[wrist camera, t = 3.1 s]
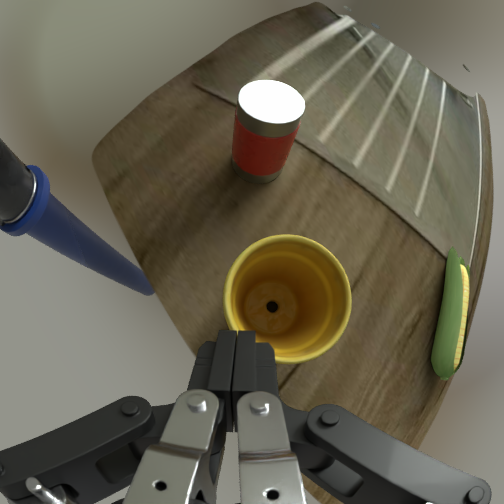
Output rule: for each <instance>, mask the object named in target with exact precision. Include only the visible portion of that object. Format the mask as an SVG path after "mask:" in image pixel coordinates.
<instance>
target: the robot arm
mask: <svg viewBox="0 0 504 504" xmlns="http://www.w3.org/2000/svg"><path fill="white" fill-rule="evenodd" d="M37 190H38V180H37V177H36V175H35V174H34V173H33V172H32V171H31V170H29V168H28V167H26V166H25V164H24V163H23V162H22V161H21V160H20V159H19V158H18V157H17V156H16V155H15V154H14V153H13V152H12V151H11V150H10V149H9V148H8V147H7V145H6V144H5V143H4V142H3V141H2V140H1V139H0V225H1V226H2V227H3V226H4V225H5V224H14V223H17V222H18V221H20V220H21V219H22V218H23V217H24V216H25V215H26V214H27V213H28V211H29V210H30V208H31V206H32V205H33V202H34V200H35V198H36V194H37ZM233 427H235V432H238V448H239V477H240V497H241V503H237V504H307V499H306V495H305V490H304V486H303V481H302V477H301V472H302V473H303V474H304V475H305V476H307V477H308V478H309V479H311V480H312V481H313V482H315V483H316V484H317V485H319V486H320V487H321V488H323V489H324V490H325V491H327V492H328V493H330V494H331V495H332V496H334V497H335V498H337V499H338V500H340V501H341V502H343V503H344V504H489V503H490V500H491V488H490V486H489V485H488V483H487V482H486V481H484V480H483V479H480V478H478V477H475V476H473V475H470V474H468V473H466V472H463V471H461V470H459V469H456V468H454V467H452V466H449V465H447V464H445V463H443V462H441V461H439V460H437V459H435V458H432V457H430V456H428V455H426V454H424V453H422V452H420V451H418V450H416V449H414V448H413V447H411V446H409V445H407V444H405V443H403V442H401V441H399V440H397V439H396V438H394V437H392V436H390V435H388V434H386V433H385V432H383V431H381V430H379V429H378V428H376V427H374V426H372V425H371V424H369V423H367V422H366V421H364V420H362V419H361V418H359V417H357V416H356V415H354V414H352V413H351V412H349V411H347V410H346V409H344V408H342V407H340V406H338V405H334V404H323V405H319V406H316V407H315V408H313V409H312V410H311V411H310V412H307V411H301V410H296V409H293V408H291V407H289V406H287V405H286V404H284V403H283V402H282V400H281V399H280V397H279V393H278V382H277V372H276V361H275V350H274V349H273V347H272V346H271V345H270V344H269V342H256V331H255V330H238V336H237V330H219V332H218V337H217V342H212V341H206V342H205V343H204V344H203V345H202V346H201V347H200V348H199V350H198V354H197V358H196V360H195V365H194V368H193V371H192V374H191V378H190V381H189V385H188V388H187V391H186V392H184V393H182V394H181V395H180V396H179V397H178V398H177V400H176V402H175V403H172V404H168V405H161V406H152V407H151V405H150V403H149V402H148V401H147V400H145V399H144V398H142V397H138V396H127V397H123V398H121V399H119V400H117V401H115V402H113V403H111V404H109V405H107V406H105V407H103V408H101V409H99V410H97V411H95V412H92V413H91V414H88V415H86V416H84V417H82V418H80V419H78V420H75V421H73V422H71V423H69V424H67V425H64V426H62V427H60V428H58V429H55V430H53V431H51V432H48V433H46V434H43V435H41V436H39V437H36V438H34V439H32V440H29V441H26V442H24V443H21V444H18V445H16V446H13V447H10V448H8V449H5V450H2V451H0V492H1V493H2V494H3V495H4V496H5V497H6V498H7V500H8V503H9V504H94V503H96V502H98V501H100V500H102V499H104V498H106V497H108V496H110V495H112V494H114V493H116V492H118V491H120V490H121V489H123V488H125V487H127V486H129V485H130V487H129V489H128V492H127V494H126V496H125V498H123V499H120V500H118V501H116V502H114V503H112V504H216V490H217V484H218V479H219V474H220V469H221V464H222V459H223V455H224V450H225V446H224V445H225V441H226V432H233ZM300 471H301V472H300Z"/></svg>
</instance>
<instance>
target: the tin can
mask: <svg viewBox="0 0 504 504" xmlns="http://www.w3.org/2000/svg"><path fill="white" fill-rule="evenodd" d="M304 110H305V103H304V100H303V98H302V96H301V95H300V94H299V93H298V92H297V91H296V90H295V89H293V88H292V87H290V86H289V85H286V84H284V83H281V82H278V81H273V80H258V81H254V82H251V83H248V84H247V85H245V86H244V87H243V88H242V89H241V90H240V92H239V94H238V100H237V107H236V110H235V121H234V132H233V144H232V165H233V168H234V170H235V172H236V173H237V174H238V175H239V176H240V177H241V178H242V179H244V180H246V181H248V182H251V183H256V184H262V183H267V182H270V181H272V180H274V179H275V178H277V177H278V176H279V174H280V173H281V170H282V168H283V166H284V164H285V162H286V160H287V157H288V155H289V152H290V149H291V147H292V144H293V142H294V139H295V137H296V134H297V131H298V129H299V126H300V123H301V118H302V116H303V113H304Z"/></svg>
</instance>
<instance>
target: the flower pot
mask: <svg viewBox="0 0 504 504" xmlns="http://www.w3.org/2000/svg"><path fill="white" fill-rule="evenodd" d="M271 301H273V302H276V303H277V305H278V309H277V311H276V312H273V313H271V312H269V311H268V310H267V303H268V302H271ZM351 302H352V298H351V289H350V284H349V281H348V278H347V275H346V273H345V271H344V269H343V267H342V266H341V264H340V263H339V261H338V260H337V259H336V258H335V256H334V255H333V254H332V253H331V252H330V251H328V250H327V249H326V248H325V247H323V246H322V245H320V244H319V243H317V242H315V241H313V240H311V239H308V238H305V237H301V236H297V235H275V236H270V237H267V238H264V239H262V240H259V241H257V242H255V243H254V244H252V245H251V246H249V247H248V248H247V249H245V250H244V251H243V252H242V253H241V254H240V255H239V256H238V257H237V259H236V260H235V261H234V263H233V264H232V266H231V268H230V270H229V272H228V274H227V277H226V280H225V284H224V289H223V310H224V316H225V319H226V322H227V325H228V327H229V329H230V330H237V336H238V330H255V331H256V342H269V344H270V345H271V346H272V347H273V349H274V350H275V361H276V363H279V364H298V363H303V362H307V361H310V360H313V359H315V358H317V357H319V356H321V355H322V354H324V353H325V352H327V351H328V350H329V349H330V348H331V347H333V346H334V345H335V343H336V342H337V341H338V340H339V338H340V337H341V336H342V334H343V332H344V330H345V328H346V326H347V323H348V320H349V317H350V312H351Z"/></svg>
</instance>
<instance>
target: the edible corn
mask: <svg viewBox="0 0 504 504" xmlns="http://www.w3.org/2000/svg"><path fill="white" fill-rule="evenodd" d="M469 277H470V268H469V265H468V266H467V267H466V268H465V263H464V260H463V259H462V258H461V256H460V257H459V259H458V256H457V252H456V250H455V249H454V248H453V247H452V248H451V249H450V251H449V253H448V259H447V264H446V275H445V285H444V292H443V298H442V304H441V309H440V314H439V319H438V324H437V328H436V333H435V338H434V343H433V348H432V353H431V359H430V360H431V364H432V367H433V370H434V371H435V373H436V374H437V376H440V377H441V378H440V379H442V380H448V379H449V377H450V376H452V375H453V374H454V373H455V372H456V371H457V370H458V369H459V367H460V365H461V363H462V360H463V356H464V350H465V344H466V335H467V323H468V306H469Z"/></svg>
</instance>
